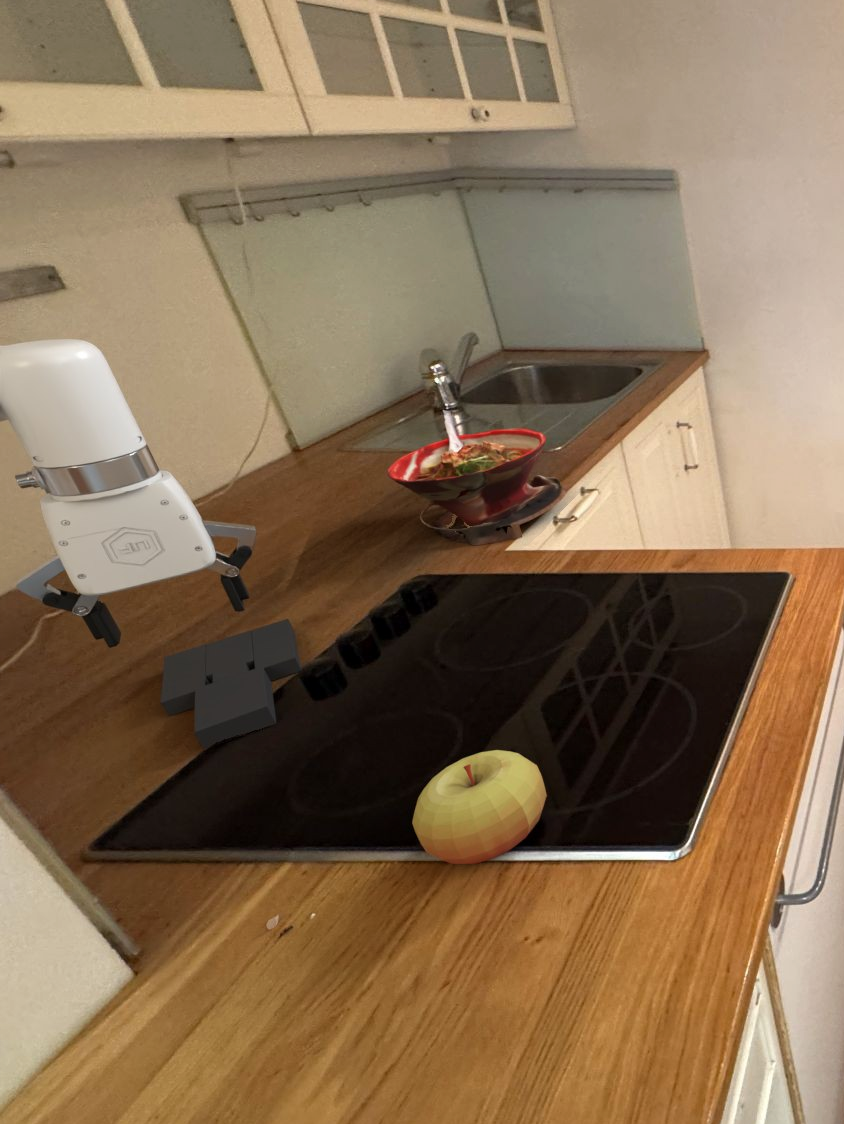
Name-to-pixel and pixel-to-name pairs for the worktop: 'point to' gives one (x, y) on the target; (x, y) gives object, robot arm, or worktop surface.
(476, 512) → the stew
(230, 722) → the dark grey beveled block
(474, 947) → the worktop surface
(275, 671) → the base pad
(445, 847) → the apple
